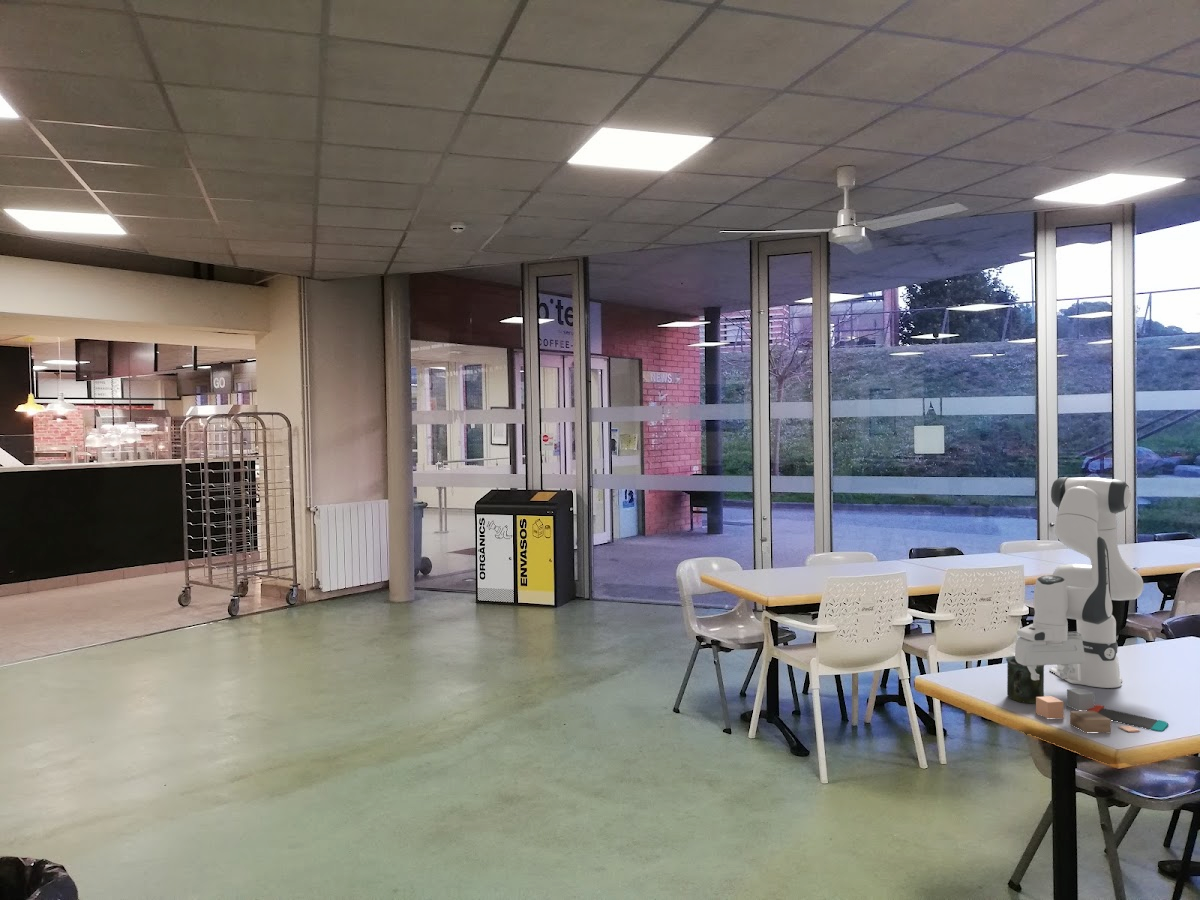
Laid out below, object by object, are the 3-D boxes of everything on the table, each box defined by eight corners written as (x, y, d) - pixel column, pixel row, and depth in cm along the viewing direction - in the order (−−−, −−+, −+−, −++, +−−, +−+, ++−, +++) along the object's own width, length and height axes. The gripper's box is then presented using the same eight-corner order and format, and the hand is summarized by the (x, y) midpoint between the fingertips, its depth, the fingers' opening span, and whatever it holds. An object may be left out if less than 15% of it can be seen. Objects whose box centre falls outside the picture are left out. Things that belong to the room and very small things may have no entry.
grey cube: (1067, 705, 244) (1067, 689, 244) (1081, 704, 244) (1081, 688, 244) (1079, 711, 239) (1079, 694, 239) (1094, 710, 240) (1094, 693, 239)
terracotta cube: (1035, 713, 237) (1036, 696, 237) (1051, 712, 238) (1051, 696, 237) (1047, 719, 232) (1047, 702, 232) (1063, 718, 233) (1063, 701, 233)
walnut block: (1070, 725, 228) (1070, 711, 228) (1093, 724, 228) (1093, 710, 228) (1086, 734, 221) (1086, 719, 221) (1110, 733, 221) (1110, 719, 221)
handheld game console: (1162, 735, 222) (1170, 724, 228) (1162, 731, 221) (1170, 720, 228) (1083, 717, 236) (1094, 707, 242) (1083, 713, 236) (1094, 703, 242)
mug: (1049, 698, 250) (1049, 660, 250) (1036, 710, 240) (1036, 670, 240) (1012, 690, 258) (1012, 653, 258) (997, 701, 247) (997, 663, 247)
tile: (1118, 727, 225) (1118, 726, 225) (1129, 727, 225) (1129, 725, 225) (1128, 732, 221) (1128, 730, 221) (1139, 731, 222) (1139, 730, 222)
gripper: (1074, 628, 239) (1073, 675, 239) (1011, 630, 236) (1011, 677, 236) (1090, 633, 233) (1089, 681, 233) (1026, 635, 230) (1025, 683, 229)
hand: (1049, 679), depth 234 cm, fingers open, 8 cm apart
